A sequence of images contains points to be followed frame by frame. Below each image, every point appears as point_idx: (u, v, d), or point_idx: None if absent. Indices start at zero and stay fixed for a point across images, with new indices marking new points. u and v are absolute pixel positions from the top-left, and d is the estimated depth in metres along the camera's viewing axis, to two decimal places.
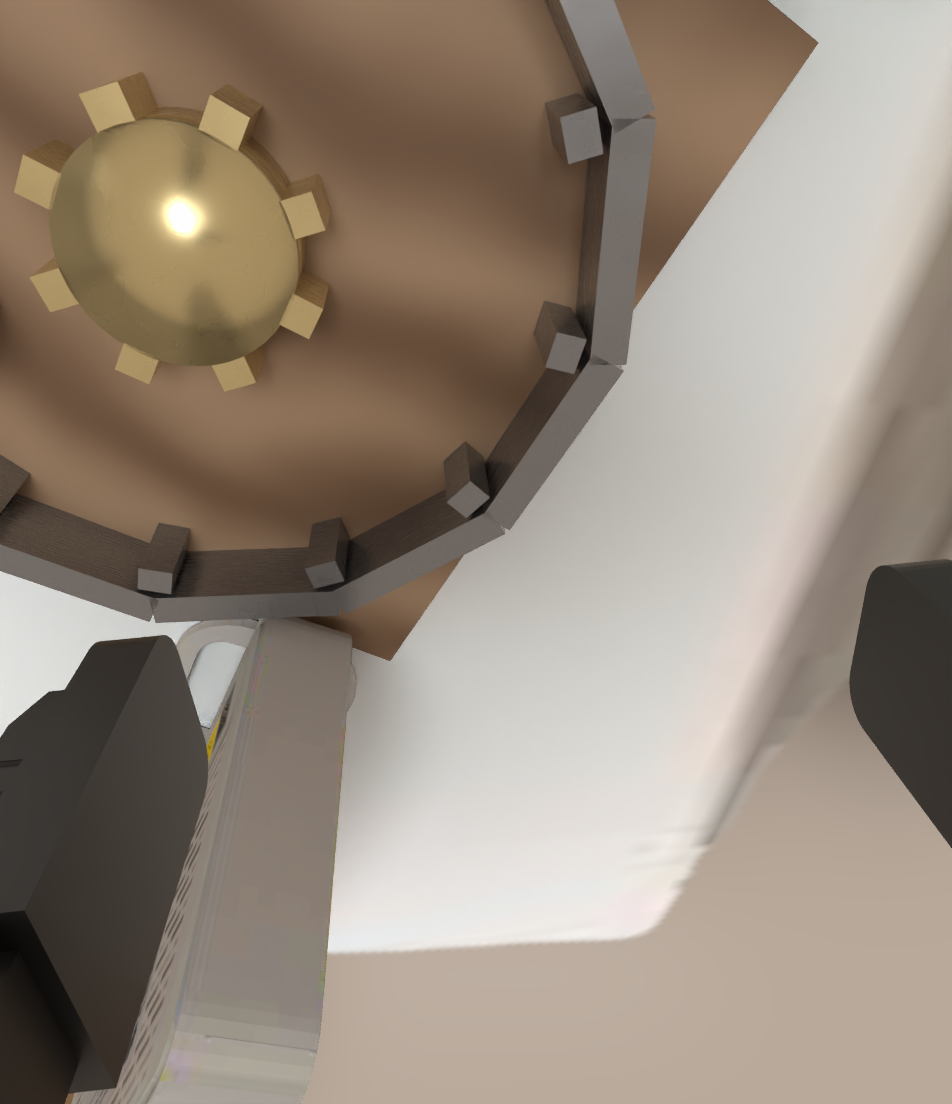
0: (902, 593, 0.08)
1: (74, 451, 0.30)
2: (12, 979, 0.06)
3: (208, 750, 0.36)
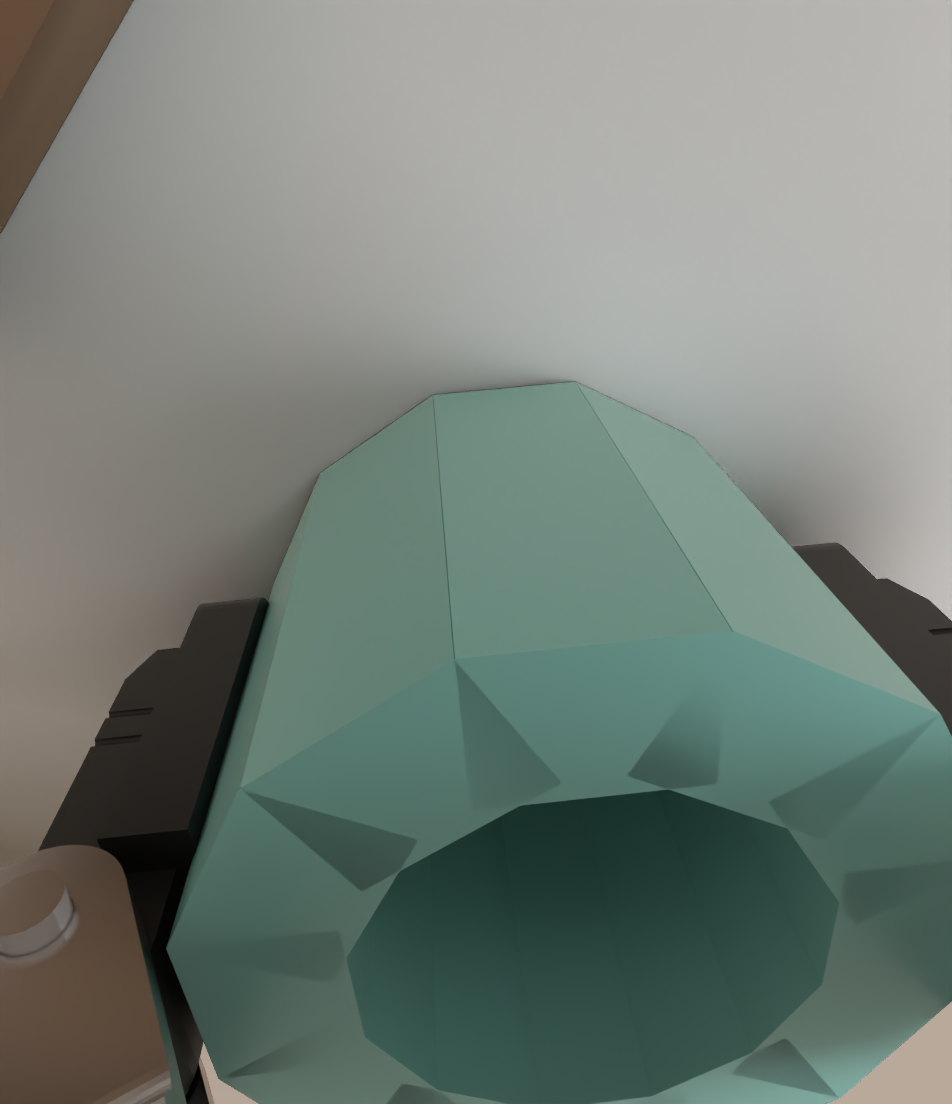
0: None
1: None
2: (173, 893, 0.06)
3: None
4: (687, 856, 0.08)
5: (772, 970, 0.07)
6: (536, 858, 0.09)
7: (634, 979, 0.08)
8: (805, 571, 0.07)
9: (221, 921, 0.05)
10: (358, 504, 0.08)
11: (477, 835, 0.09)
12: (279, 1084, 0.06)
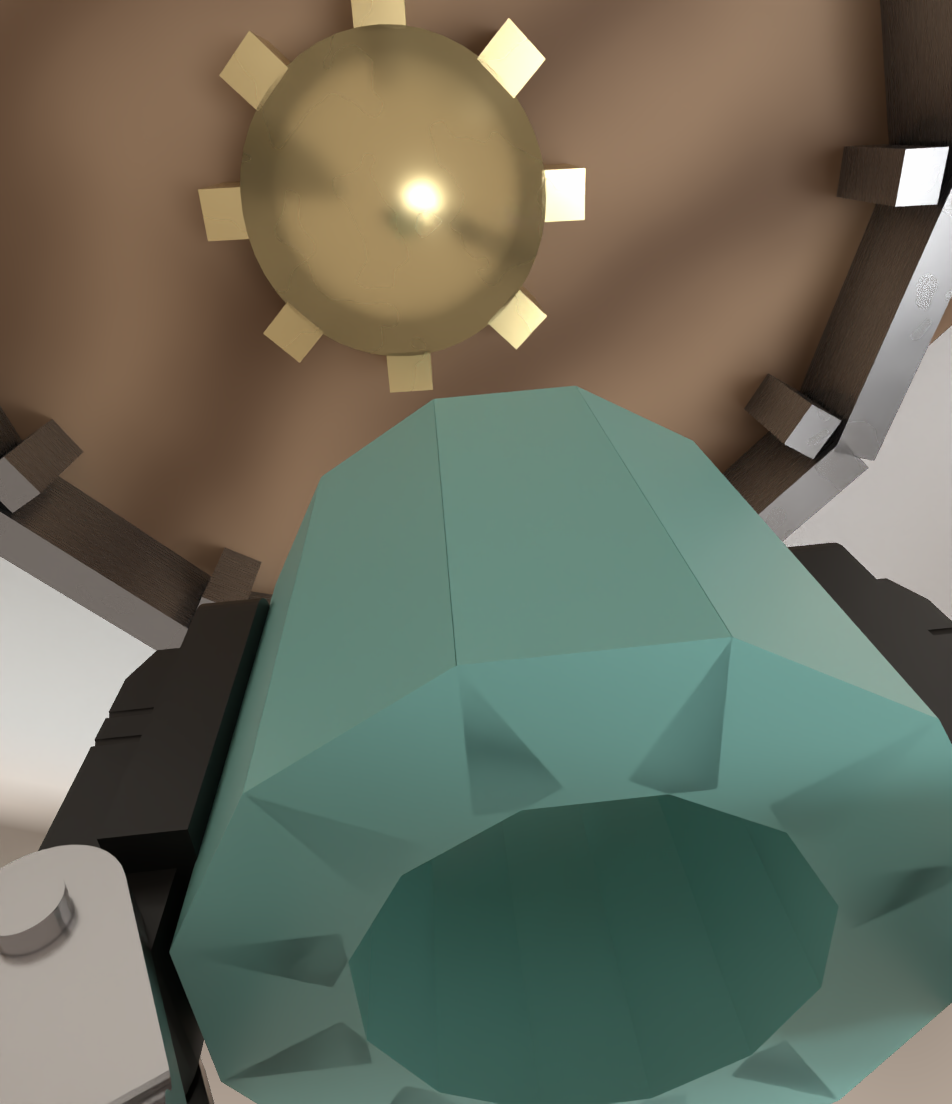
0: None
1: None
2: (173, 893, 0.06)
3: None
4: (687, 859, 0.08)
5: (772, 973, 0.07)
6: (535, 860, 0.09)
7: (634, 981, 0.08)
8: (805, 576, 0.07)
9: (224, 925, 0.05)
10: (359, 508, 0.08)
11: (478, 838, 0.09)
12: (281, 1087, 0.06)
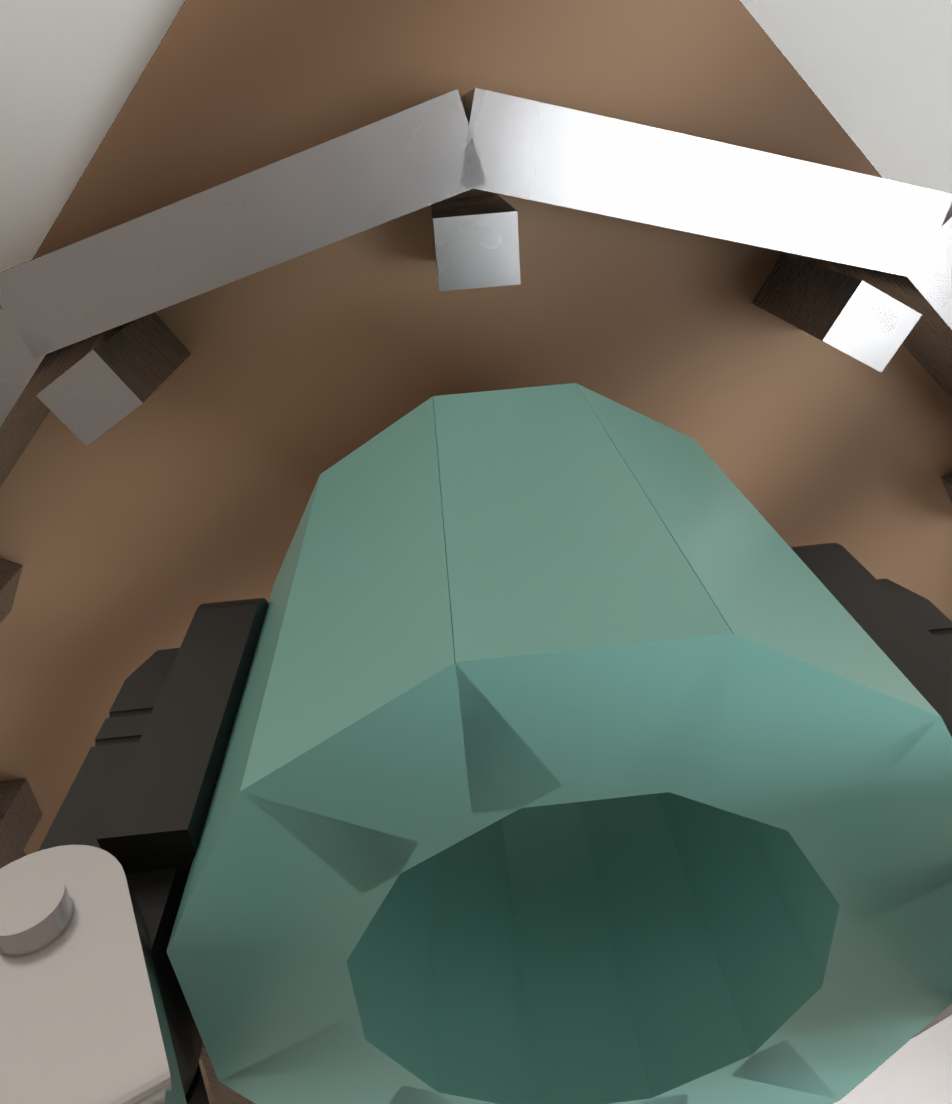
0: None
1: (187, 486, 0.16)
2: (174, 893, 0.06)
3: None
4: (687, 857, 0.08)
5: (772, 972, 0.07)
6: (536, 859, 0.09)
7: (634, 981, 0.08)
8: (807, 572, 0.07)
9: (221, 924, 0.05)
10: (358, 506, 0.08)
11: (477, 836, 0.09)
12: (279, 1086, 0.06)
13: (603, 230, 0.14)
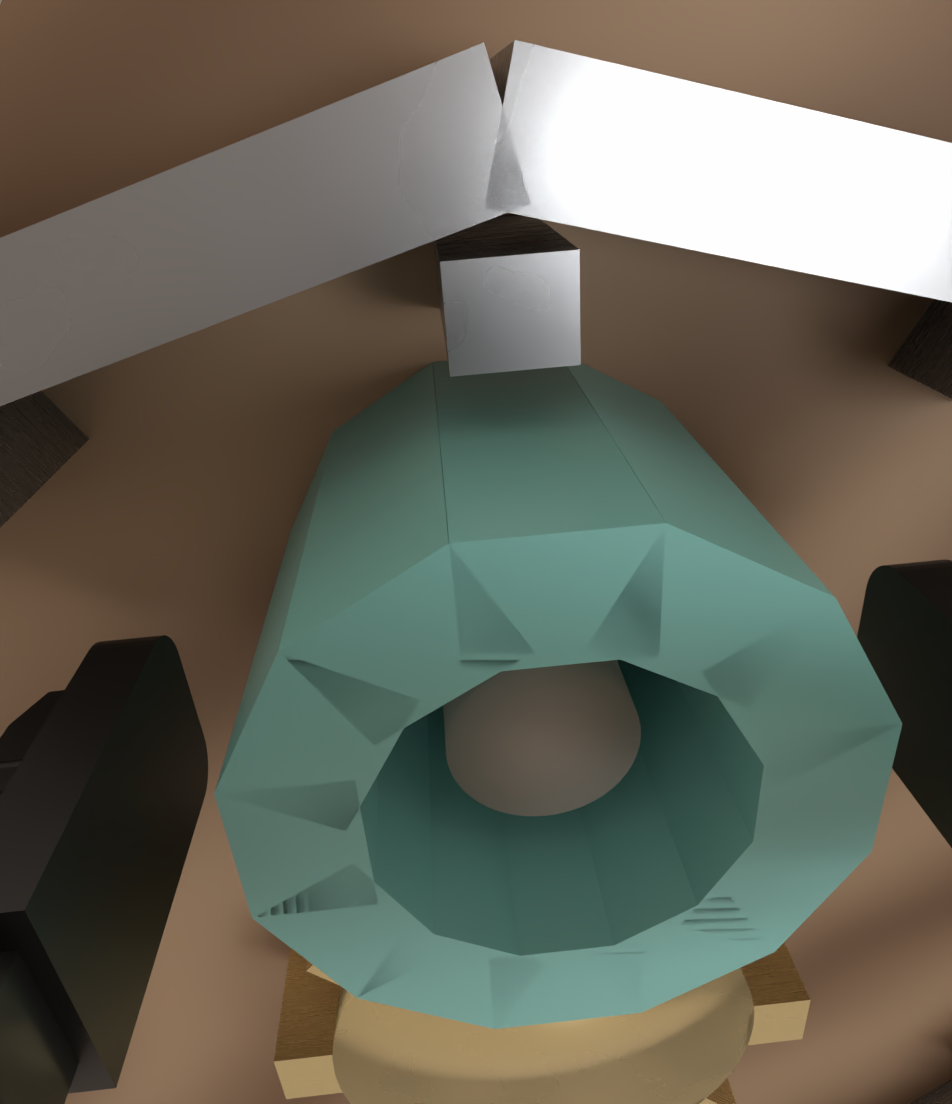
0: (902, 593, 0.08)
1: (94, 614, 0.12)
2: (12, 979, 0.06)
3: None
4: (651, 760, 0.10)
5: (715, 838, 0.08)
6: None
7: (603, 859, 0.09)
8: (743, 500, 0.08)
9: (259, 770, 0.07)
10: (368, 450, 0.09)
11: None
12: (302, 924, 0.08)
13: (684, 264, 0.10)
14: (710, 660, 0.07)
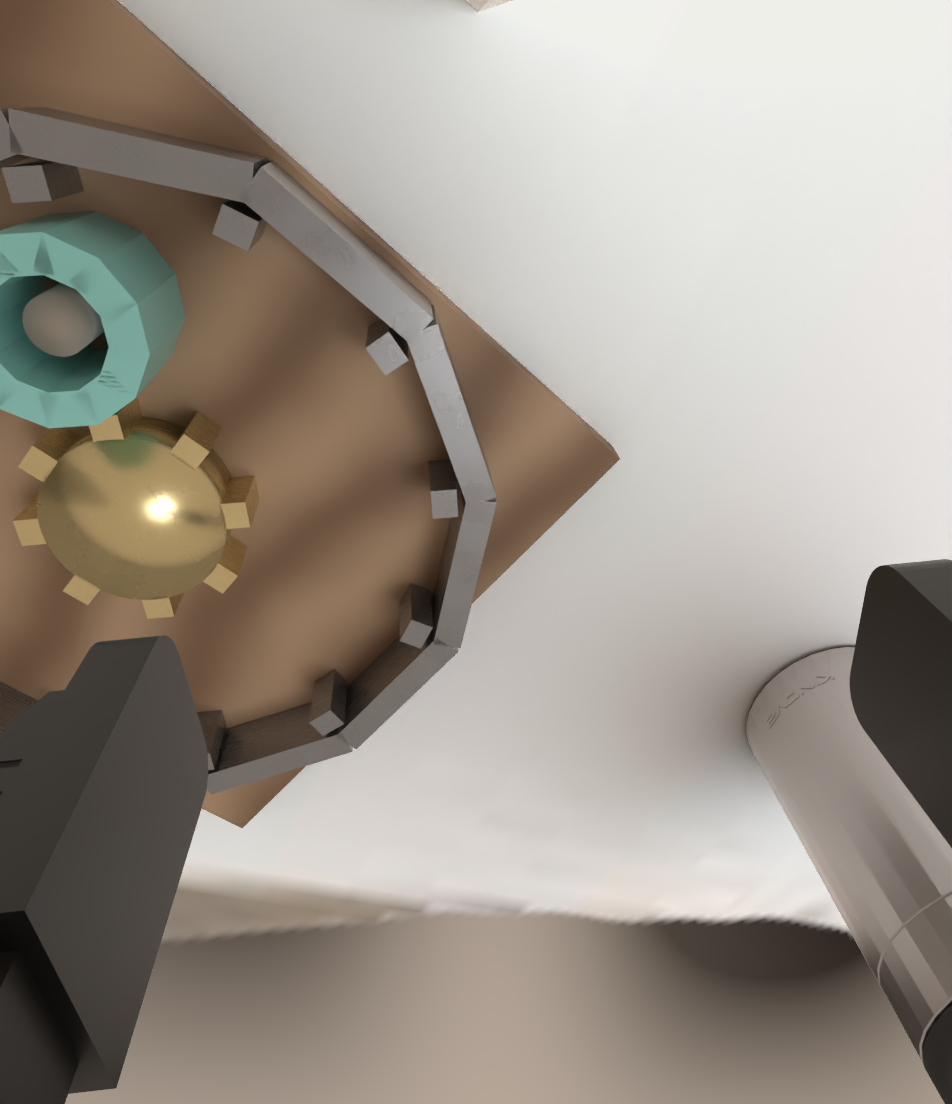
0: (902, 593, 0.08)
1: None
2: (12, 980, 0.06)
3: None
4: None
5: None
6: (85, 368, 0.28)
7: (91, 378, 0.27)
8: (111, 246, 0.26)
9: None
10: None
11: (67, 362, 0.28)
12: None
13: None
14: (69, 276, 0.24)
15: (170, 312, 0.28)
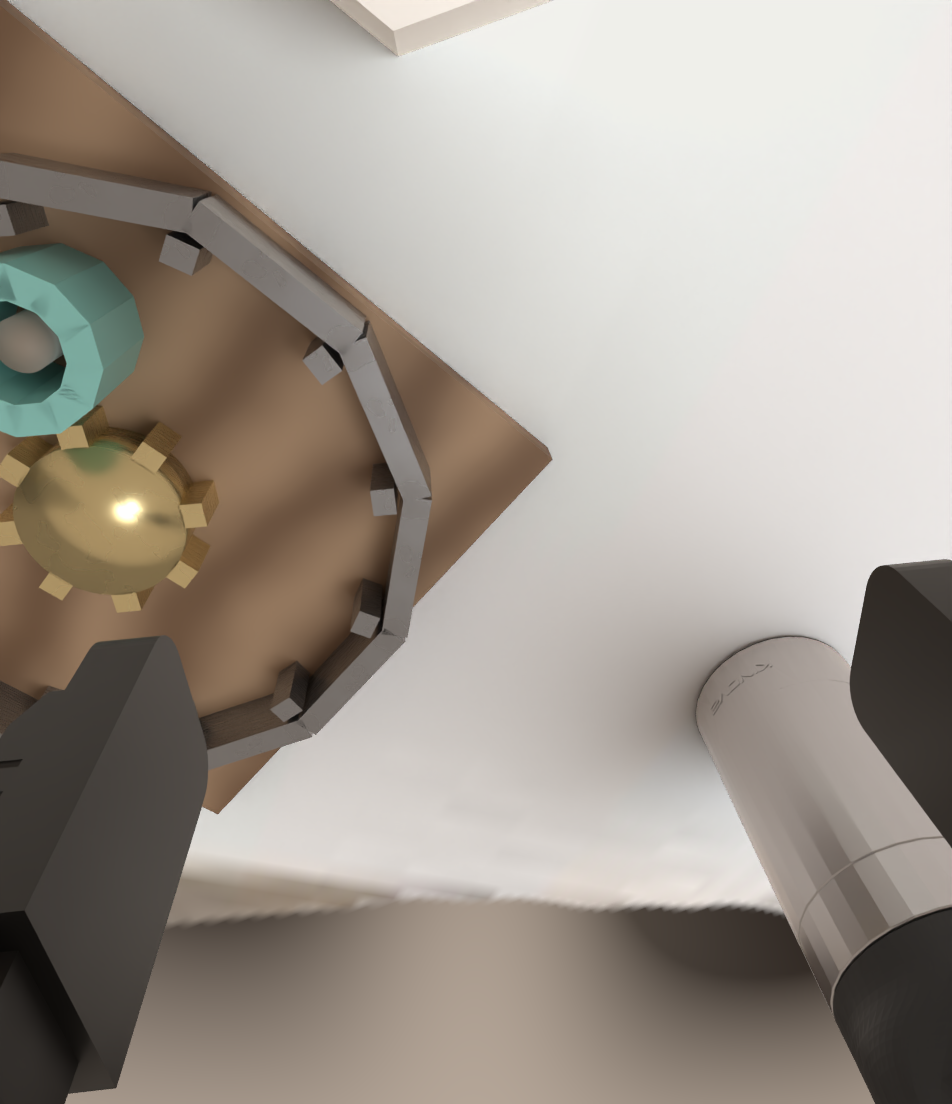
0: (902, 593, 0.08)
1: None
2: (12, 979, 0.06)
3: None
4: None
5: None
6: (51, 383, 0.31)
7: (54, 392, 0.30)
8: (69, 274, 0.29)
9: None
10: None
11: (36, 378, 0.31)
12: None
13: None
14: (29, 302, 0.27)
15: (127, 331, 0.31)
